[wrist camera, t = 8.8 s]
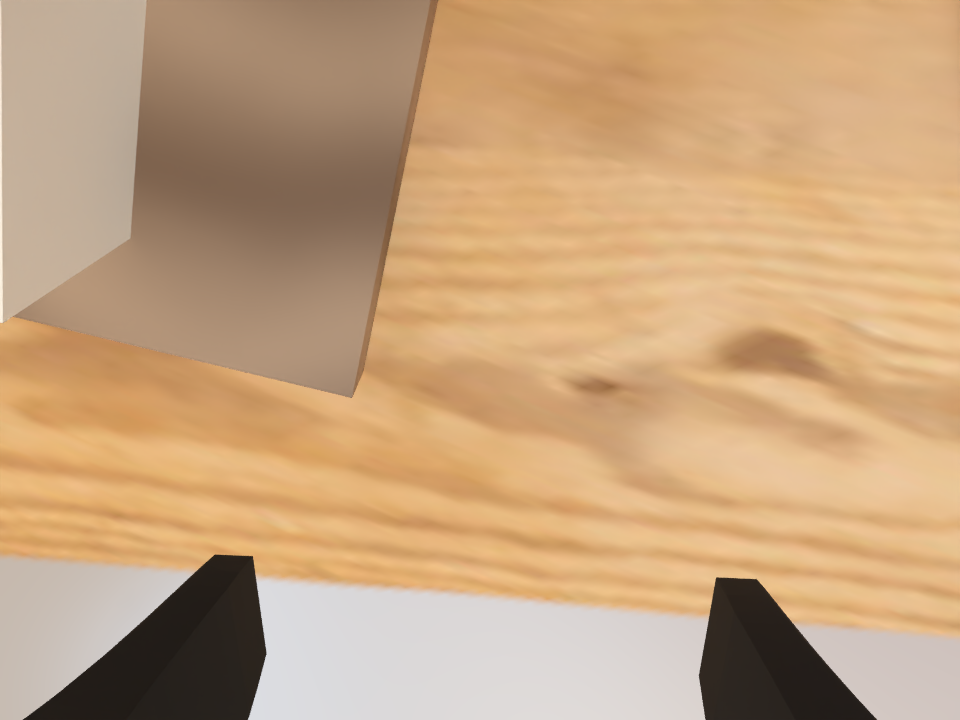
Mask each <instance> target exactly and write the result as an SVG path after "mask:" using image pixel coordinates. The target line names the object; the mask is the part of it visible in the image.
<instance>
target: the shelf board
mask: <svg viewBox="0 0 960 720" xmlns="http://www.w3.org/2000/svg"><path fill="white" fill-rule="evenodd" d="M437 2H438V0H147V1H146V16H145V31H144V45H143V60H142V75H141V89H140V104H139V119H138V133H137V148H136V163H135V177H134V192H133V207H132V221H131V236H130V239H129V240H127V241H126V242H124V243H123V244H121V245H120V246H118V247H117V248H115V249H114V250H112V251H111V252H109V253H108V254H106V255H105V256H103V257H102V258H100V259H99V260H97V261H96V262H94V263H93V264H91V265H90V266H88V267H87V268H85V269H84V270H82V271H81V272H79V273H77V274H76V275H74V276H73V277H71V278H70V279H68V280H67V281H65V282H64V283H62V284H61V285H59V286H58V287H56V288H55V289H53V290H52V291H50V292H49V293H47V294H46V295H44V296H43V297H41V298H40V299H38V300H37V301H35V302H34V303H32V304H31V305H29V306H28V307H26V308H25V309H23V310H22V311H20V312H19V313H17V314H16V315H14V316H13V317H17V318H21V319H25V320H29V321H33V322H38V323H42V324H46V325H50V326H54V327H58V328H63V329H67V330H71V331H75V332H79V333H83V334H88V335H92V336H96V337H100V338H104V339H108V340H113V341H117V342H121V343H125V344H129V345H133V346H138V347H142V348H146V349H150V350H154V351H158V352H163V353H167V354H171V355H175V356H179V357H183V358H188V359H192V360H196V361H200V362H204V363H208V364H213V365H217V366H221V367H225V368H229V369H233V370H238V371H242V372H246V373H250V374H254V375H259V376H263V377H267V378H271V379H275V380H279V381H284V382H288V383H292V384H296V385H300V386H304V387H309V388H313V389H317V390H321V391H325V392H329V393H334V394H338V395H342V396H346V397H350V398H352V397H353V394H354V392H355V390H356V387H357V385H358V382H359V380H360V378H361V375H362V373H363V370H364V365H365V360H366V355H367V350H368V345H369V340H370V335H371V330H372V325H373V320H374V315H375V310H376V305H377V300H378V295H379V290H380V285H381V280H382V275H383V270H384V265H385V260H386V255H387V251H388V246H389V241H390V236H391V231H392V226H393V221H394V216H395V211H396V206H397V201H398V196H399V191H400V186H401V181H402V176H403V171H404V166H405V161H406V156H407V151H408V146H409V141H410V136H411V131H412V126H413V121H414V116H415V111H416V106H417V101H418V97H419V92H420V87H421V82H422V77H423V72H424V67H425V62H426V57H427V52H428V47H429V42H430V37H431V32H432V27H433V22H434V17H435V12H436V7H437Z"/></svg>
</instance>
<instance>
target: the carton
mask: <svg viewBox="0 0 960 720" xmlns="http://www.w3.org/2000/svg"><path fill="white" fill-rule="evenodd" d="M146 1H147V0H0V323H4V322H5V321H7V320H8V319H10V318H11V317H13V316H14V315H16V314H17V313H19V312H20V311H22V310H23V309H25V308H26V307H28V306H29V305H31V304H32V303H34V302H35V301H37V300H38V299H40V298H41V297H43V296H44V295H46V294H47V293H49V292H50V291H52V290H53V289H55V288H56V287H58V286H59V285H61V284H62V283H64V282H65V281H67V280H68V279H70V278H71V277H73V276H74V275H76V274H77V273H79V272H81V271H82V270H84V269H85V268H87V267H88V266H90V265H91V264H93V263H94V262H96V261H97V260H99V259H100V258H102V257H103V256H105V255H106V254H108V253H109V252H111V251H112V250H114V249H115V248H117V247H118V246H120V245H121V244H123V243H124V242H126V241H127V240H129V239H130V236H131V221H132V207H133V192H134V177H135V163H136V148H137V133H138V119H139V104H140V89H141V75H142V60H143V45H144V31H145V16H146Z"/></svg>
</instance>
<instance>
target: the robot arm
mask: <svg viewBox="0 0 960 720" xmlns="http://www.w3.org/2000/svg"><path fill="white" fill-rule="evenodd" d="M265 657H266V647H265V640H264V632H263V626H262V618H261V612H260V604H259V597H258V590H257V583H256V576H255V569H254V561H253V556H233V555H214V556H213V557H212V558H211V559H210V560H208V561H207V562H206V563H205V564H204V565H203V566H202V567H201V568H199V569H198V570H197V571H196V572H195V573H194V574H193V575H192V576H191V577H190V578H189V579H188V580H187V581H185V582H184V583H183V584H182V585H181V586H180V587H179V588H178V589H177V590H176V591H175V592H174V593H173V594H172V595H170V597H168V598H167V599H166V600H165V601H164V602H163V603H162V604H161V605H160V606H159V607H158V608H156V609H155V610H154V611H153V612H152V613H151V614H150V615H149V616H148V617H147V618H146V619H145V620H143V621H142V622H141V623H140V624H139V625H138V626H137V627H136V628H135V629H133V630H132V631H131V632H130V633H129V634H128V635H127V636H125V637H124V638H123V639H122V640H121V641H120V642H119V643H118V644H117V645H115V646H114V647H113V648H112V649H111V650H110V651H109V652H107V653H106V654H105V655H104V656H103V657H102V658H100V659H99V660H98V661H97V662H96V663H94V664H93V665H92V666H91V667H90V668H88V669H87V670H86V671H85V672H83V673H82V674H81V675H80V676H79V677H77V678H76V679H75V680H74V681H73V682H71V683H70V684H69V685H68V686H66V687H65V688H64V689H63V690H62V691H61V692H59V693H58V694H57V695H55V696H54V697H53V698H51V699H50V700H49V701H47V702H46V703H45V704H44V705H42V706H41V707H40V708H38V709H37V710H35V711H34V712H33V713H31V714H30V715H29V716H27V717H26V718H25V719H23V720H248V718H249V715H250V711H251V708H252V705H253V701H254V698H255V694H256V691H257V687H258V684H259V680H260V676H261V672H262V668H263V665H264V661H265ZM699 679H700V686H701V692H702V700H703V706H704V712H705V719H706V720H877V719H876V718H875V717H874V716H873V715H872V714H871V713H870V712H869V711H868V710H867V708H865V706H864V705H863V704H862V703H861V702H860V701H859V700H858V699H857V698H856V697H855V695H854V694H853V693H852V692H851V691H850V690H849V689H848V688H847V687H846V685H845V684H844V683H843V682H842V681H841V680H840V678H838V676H837V675H836V674H835V673H834V672H833V671H832V669H831V668H830V667H829V666H828V665H827V664H826V663H825V661H824V660H823V659H822V658H821V657H820V656H819V654H818V653H817V652H816V651H815V650H814V648H813V647H812V646H811V645H810V644H809V643H808V641H807V640H806V639H805V638H804V636H803V635H802V634H801V633H800V632H799V630H798V629H797V628H796V627H795V625H794V624H793V623H792V622H791V620H790V619H789V618H788V617H787V616H786V614H785V613H784V612H783V611H782V609H781V608H780V607H779V606H778V604H777V603H776V602H775V601H774V599H773V598H772V597H771V596H770V594H769V593H768V592H767V591H766V589H765V588H764V587H763V586H762V585H761V584H760V582H759V581H758V580H757V579H738V578H716V582H715V587H714V593H713V599H712V604H711V610H710V616H709V621H708V627H707V633H706V639H705V644H704V650H703V656H702V662H701V667H700V673H699Z"/></svg>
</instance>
